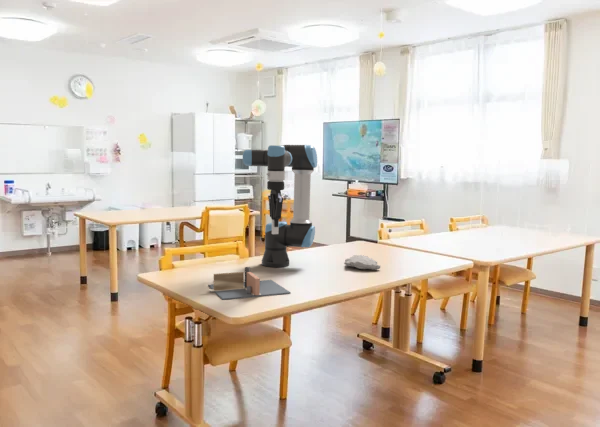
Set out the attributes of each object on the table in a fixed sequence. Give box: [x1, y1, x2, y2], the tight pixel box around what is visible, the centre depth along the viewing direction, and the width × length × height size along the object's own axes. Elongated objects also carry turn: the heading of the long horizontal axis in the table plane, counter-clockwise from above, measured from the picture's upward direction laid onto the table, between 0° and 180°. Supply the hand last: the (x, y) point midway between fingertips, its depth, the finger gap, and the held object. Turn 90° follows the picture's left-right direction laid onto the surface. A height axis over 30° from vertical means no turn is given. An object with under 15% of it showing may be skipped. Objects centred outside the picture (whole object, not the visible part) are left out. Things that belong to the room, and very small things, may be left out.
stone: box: [344, 254, 382, 271], centre depth 286 cm, size 18×5×30 cm
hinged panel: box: [247, 271, 261, 295], centre depth 224 cm, size 2×13×7 cm, turn 22°
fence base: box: [213, 266, 251, 290], centre depth 229 cm, size 2×16×9 cm, turn 113°
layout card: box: [208, 279, 291, 301], centre depth 230 cm, size 24×32×4 cm
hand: (275, 233), depth 232 cm, fingers closed
